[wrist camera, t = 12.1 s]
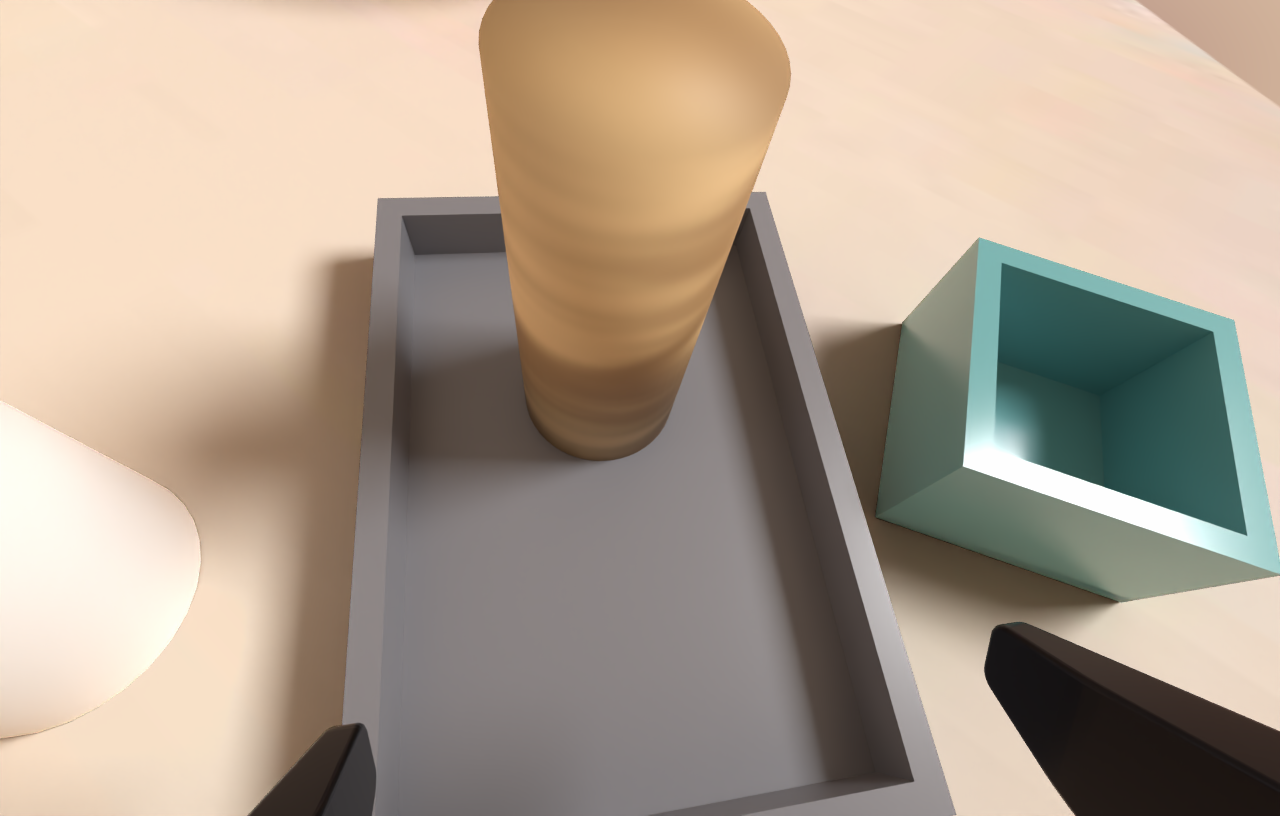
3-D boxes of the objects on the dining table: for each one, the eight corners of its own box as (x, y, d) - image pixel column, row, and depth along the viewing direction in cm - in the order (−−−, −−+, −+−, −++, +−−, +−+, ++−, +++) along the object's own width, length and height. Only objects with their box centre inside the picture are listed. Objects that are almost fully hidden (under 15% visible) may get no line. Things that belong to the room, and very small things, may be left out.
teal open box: (1120, 602, 20) (1282, 574, 15) (875, 517, 20) (963, 466, 16) (1108, 391, 24) (1234, 320, 19) (902, 322, 24) (978, 237, 20)
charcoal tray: (897, 796, 16) (956, 814, 14) (369, 901, 14) (327, 945, 12) (745, 242, 25) (765, 191, 22) (398, 253, 23) (378, 198, 20)
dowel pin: (614, 491, 19) (680, 212, 8) (494, 401, 20) (407, 43, 9) (699, 383, 21) (842, 49, 10) (587, 307, 22) (609, -76, 11)
